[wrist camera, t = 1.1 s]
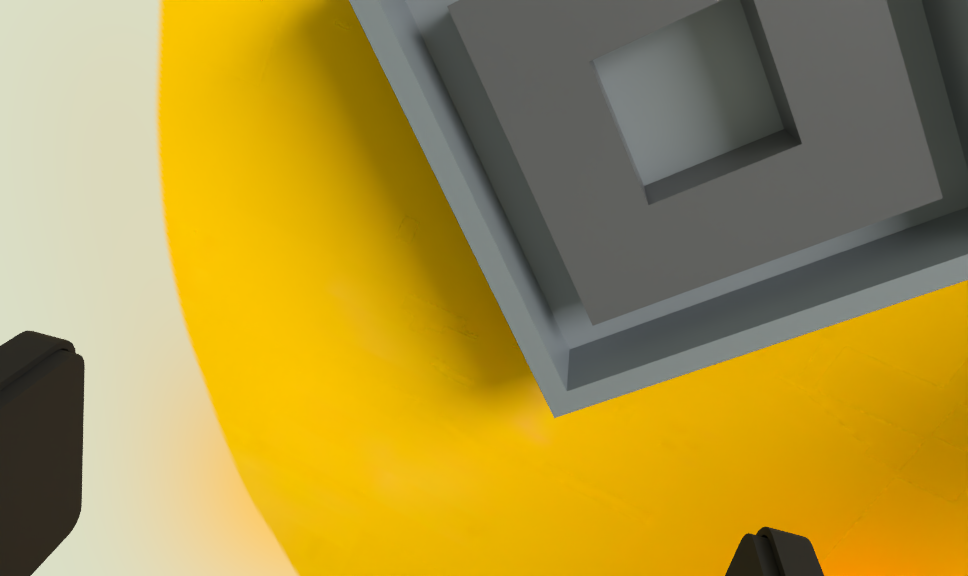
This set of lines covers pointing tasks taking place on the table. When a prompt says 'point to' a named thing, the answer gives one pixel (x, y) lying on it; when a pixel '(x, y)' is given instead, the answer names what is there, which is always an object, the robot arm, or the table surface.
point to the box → (687, 168)
